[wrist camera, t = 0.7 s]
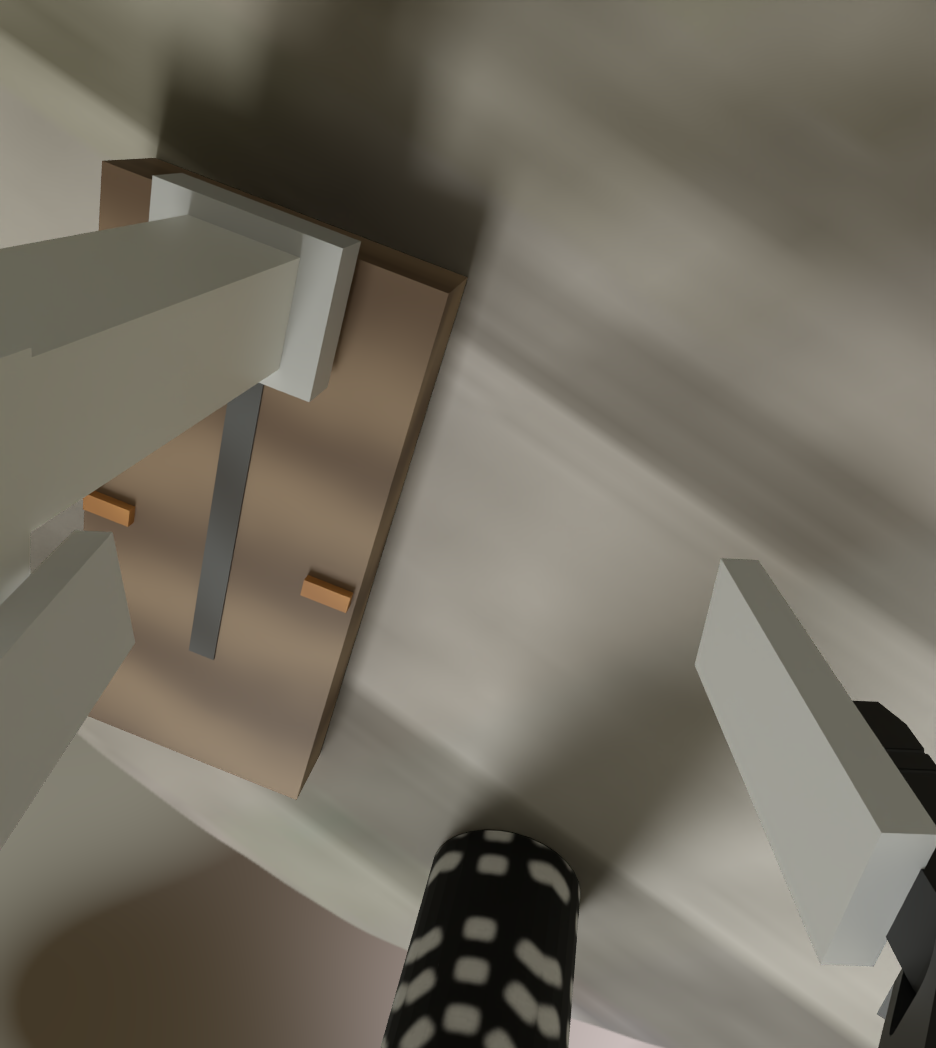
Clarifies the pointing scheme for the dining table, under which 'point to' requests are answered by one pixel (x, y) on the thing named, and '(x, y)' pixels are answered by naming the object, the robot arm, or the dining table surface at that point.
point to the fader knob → (152, 340)
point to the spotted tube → (490, 949)
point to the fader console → (268, 524)
